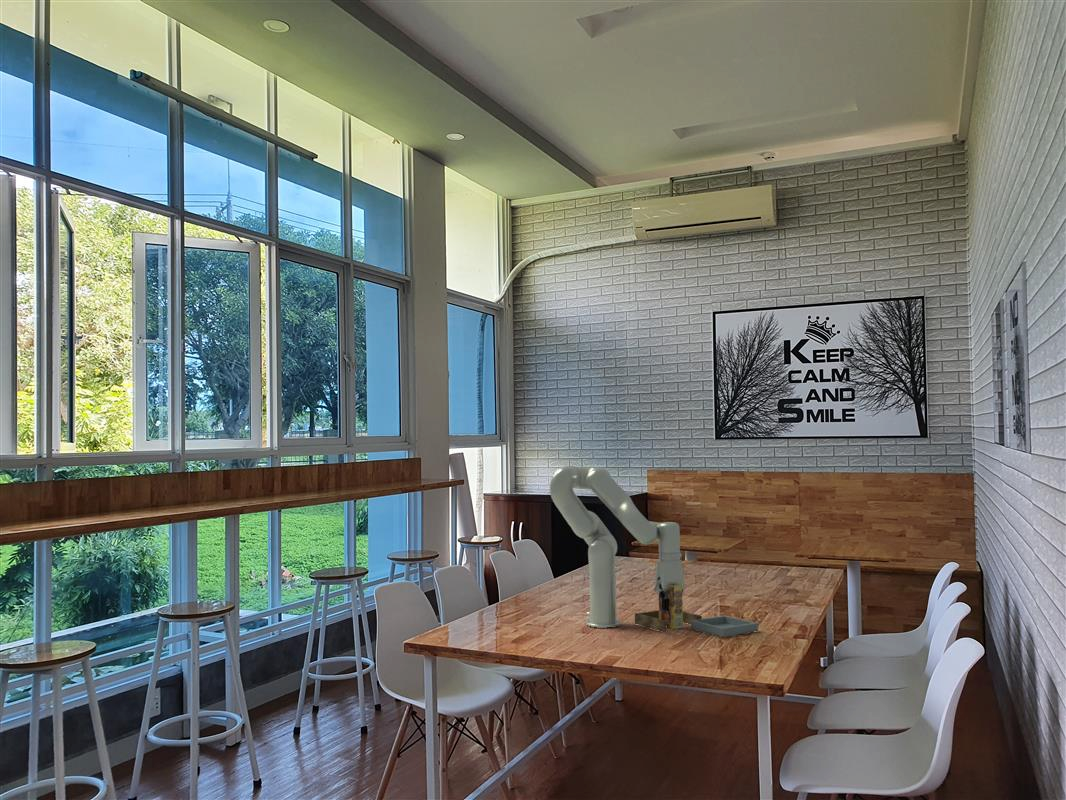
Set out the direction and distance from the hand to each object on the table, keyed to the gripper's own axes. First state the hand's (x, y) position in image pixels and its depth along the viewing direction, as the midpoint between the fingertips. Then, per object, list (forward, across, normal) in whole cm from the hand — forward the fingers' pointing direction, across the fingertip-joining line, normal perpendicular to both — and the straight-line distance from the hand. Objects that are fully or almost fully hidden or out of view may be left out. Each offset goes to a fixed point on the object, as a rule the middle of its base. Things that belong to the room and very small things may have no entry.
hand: (670, 608), depth 289 cm
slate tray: (+6, -11, +15) cm, 20 cm away
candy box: (+7, 0, 0) cm, 7 cm away
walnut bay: (+6, 0, -2) cm, 7 cm away
